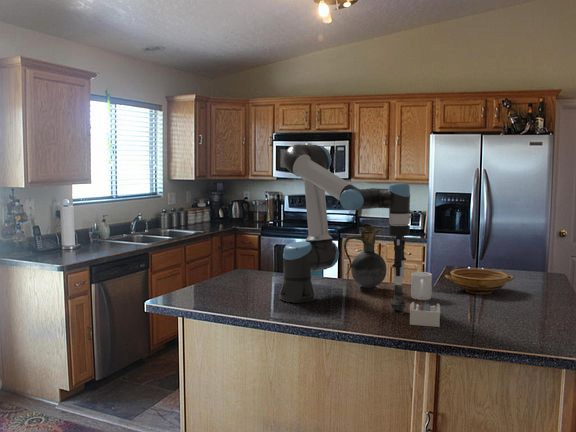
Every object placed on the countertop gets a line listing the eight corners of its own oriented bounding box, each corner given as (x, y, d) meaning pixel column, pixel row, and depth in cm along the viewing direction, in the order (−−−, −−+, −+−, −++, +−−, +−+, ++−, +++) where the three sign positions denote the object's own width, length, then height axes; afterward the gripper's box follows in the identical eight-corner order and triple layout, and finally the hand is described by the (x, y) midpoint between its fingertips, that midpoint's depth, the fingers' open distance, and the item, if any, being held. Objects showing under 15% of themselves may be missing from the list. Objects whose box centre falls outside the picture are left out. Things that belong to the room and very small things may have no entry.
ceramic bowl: (451, 297, 220) (452, 278, 219) (438, 284, 244) (438, 267, 243) (523, 298, 218) (524, 279, 218) (503, 285, 242) (503, 268, 242)
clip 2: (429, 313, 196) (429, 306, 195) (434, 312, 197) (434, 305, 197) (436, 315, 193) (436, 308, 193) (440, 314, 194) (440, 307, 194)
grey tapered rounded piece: (388, 310, 200) (388, 279, 199) (403, 310, 201) (403, 279, 200) (392, 314, 194) (393, 283, 193) (408, 314, 195) (408, 282, 194)
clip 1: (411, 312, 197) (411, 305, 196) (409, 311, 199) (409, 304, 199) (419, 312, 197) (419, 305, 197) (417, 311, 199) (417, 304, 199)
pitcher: (388, 292, 229) (389, 224, 227) (344, 292, 229) (345, 224, 227) (383, 286, 240) (384, 221, 237) (342, 286, 240) (342, 222, 238)
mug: (433, 303, 211) (433, 278, 210) (412, 302, 212) (412, 277, 211) (430, 296, 223) (430, 272, 222) (410, 295, 224) (410, 271, 223)
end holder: (409, 324, 182) (409, 310, 181) (411, 315, 193) (411, 302, 193) (439, 326, 179) (439, 312, 179) (439, 317, 191) (439, 303, 190)
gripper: (408, 228, 182) (407, 288, 183) (411, 221, 206) (411, 275, 207) (386, 228, 184) (386, 287, 185) (391, 221, 208) (391, 274, 209)
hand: (399, 281), depth 196 cm, fingers open, 13 cm apart
